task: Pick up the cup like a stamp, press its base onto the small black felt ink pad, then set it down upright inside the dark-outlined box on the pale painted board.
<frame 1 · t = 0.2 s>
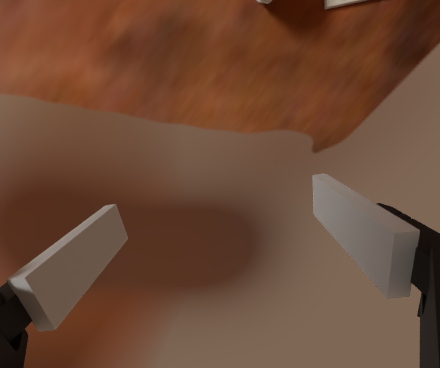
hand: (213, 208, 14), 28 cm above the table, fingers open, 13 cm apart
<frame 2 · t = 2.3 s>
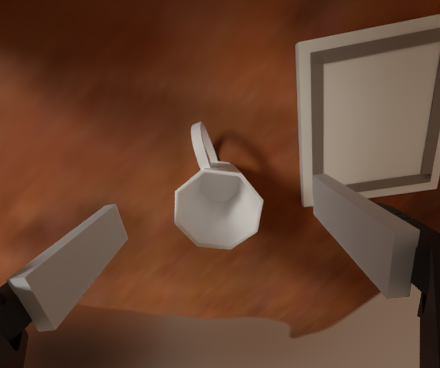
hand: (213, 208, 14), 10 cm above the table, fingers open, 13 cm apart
cup: (216, 166, 23), on the table
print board: (369, 122, 21), on the table
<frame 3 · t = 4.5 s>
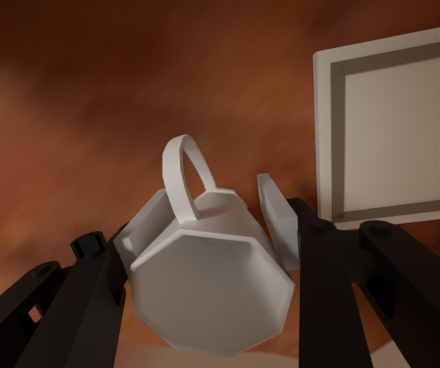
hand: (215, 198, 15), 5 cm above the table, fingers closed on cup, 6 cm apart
cup: (214, 194, 16), point 5 cm above the table, touching gripper
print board: (396, 139, 18), on the table
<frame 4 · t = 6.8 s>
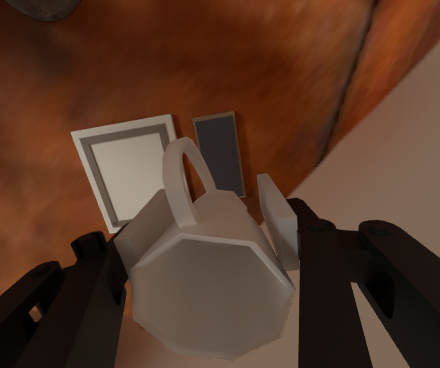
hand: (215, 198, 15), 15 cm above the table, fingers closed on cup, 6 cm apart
cup: (214, 196, 16), point 14 cm above the table, touching gripper
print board: (139, 178, 30), on the table
ink pad: (220, 158, 29), on the table
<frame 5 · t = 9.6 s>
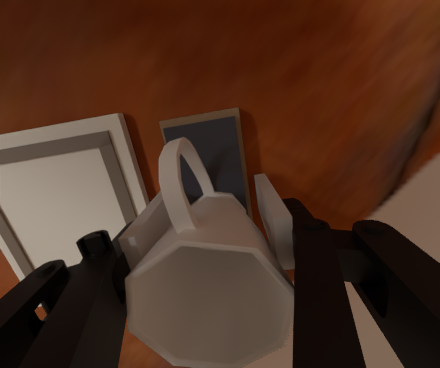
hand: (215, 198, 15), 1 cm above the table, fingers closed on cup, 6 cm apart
cup: (211, 198, 15), point 1 cm above the table, touching gripper, ink pad
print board: (75, 222, 18), on the table
ink pad: (214, 191, 17), on the table
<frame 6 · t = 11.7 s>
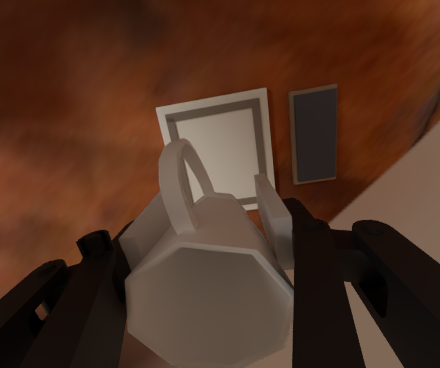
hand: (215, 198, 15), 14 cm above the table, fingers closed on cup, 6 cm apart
cup: (212, 199, 15), point 14 cm above the table, touching gripper
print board: (220, 159, 29), on the table
ink pad: (311, 137, 27), on the table
when the fingers open (2 cm above the table, at t = 14.1 s): cup drops 1 cm, resting on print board.
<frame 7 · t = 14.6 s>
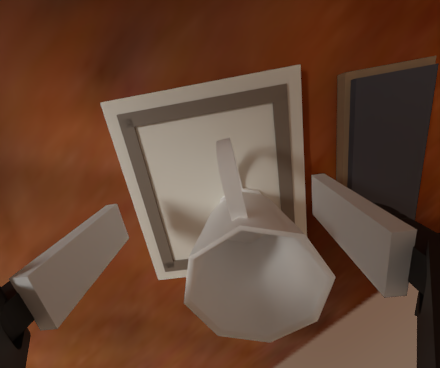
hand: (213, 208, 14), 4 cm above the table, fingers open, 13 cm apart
cup: (239, 193, 17), point 1 cm above the table, touching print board
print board: (216, 188, 17), on the table
ink pad: (372, 153, 16), on the table
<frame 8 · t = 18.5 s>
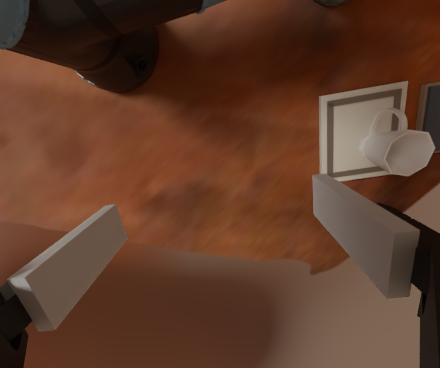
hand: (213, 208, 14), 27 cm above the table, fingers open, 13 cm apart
cup: (371, 137, 37), point 1 cm above the table, touching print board
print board: (358, 136, 37), on the table
ink pad: (432, 118, 36), on the table
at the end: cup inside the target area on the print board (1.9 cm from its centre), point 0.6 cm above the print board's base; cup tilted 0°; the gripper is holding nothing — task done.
